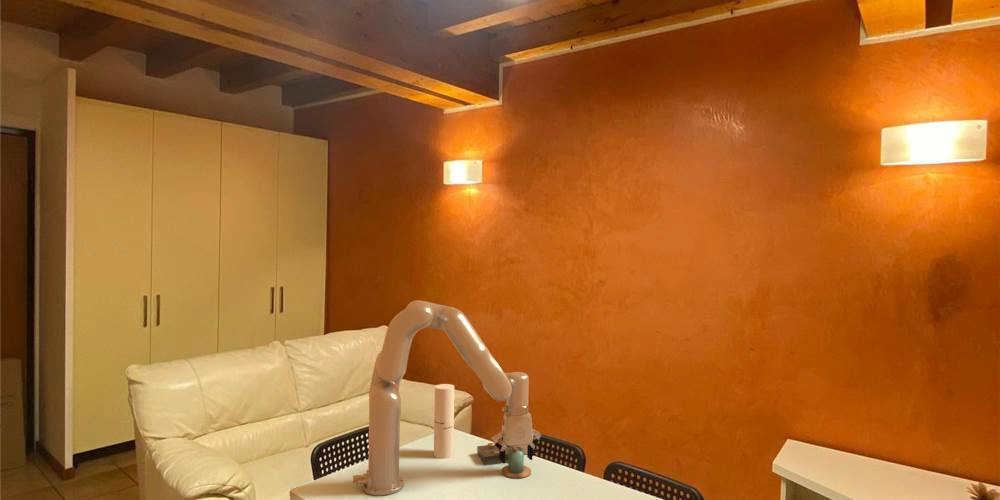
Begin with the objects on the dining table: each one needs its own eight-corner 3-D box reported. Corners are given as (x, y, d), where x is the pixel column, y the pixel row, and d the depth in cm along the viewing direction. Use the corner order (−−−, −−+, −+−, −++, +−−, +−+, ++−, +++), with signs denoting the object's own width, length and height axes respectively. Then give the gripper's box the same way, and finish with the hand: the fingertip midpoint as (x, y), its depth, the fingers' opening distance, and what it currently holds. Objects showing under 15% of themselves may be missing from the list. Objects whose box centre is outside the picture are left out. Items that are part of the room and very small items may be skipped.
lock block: (484, 465, 175) (484, 454, 175) (477, 454, 185) (477, 444, 185) (511, 462, 178) (511, 451, 178) (503, 451, 188) (503, 441, 188)
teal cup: (511, 474, 167) (511, 452, 167) (506, 468, 172) (506, 446, 172) (525, 472, 169) (526, 450, 169) (520, 466, 174) (520, 444, 174)
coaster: (506, 480, 164) (506, 478, 164) (497, 467, 174) (497, 466, 174) (535, 476, 167) (535, 474, 167) (525, 464, 177) (525, 462, 177)
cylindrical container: (436, 450, 188) (437, 383, 188) (455, 451, 187) (456, 384, 187) (431, 457, 181) (432, 388, 181) (450, 459, 180) (451, 389, 180)
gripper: (496, 415, 164) (495, 467, 164) (545, 411, 169) (544, 461, 169) (489, 408, 172) (488, 458, 171) (536, 404, 177) (536, 453, 176)
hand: (516, 460), depth 170 cm, fingers open, 9 cm apart
